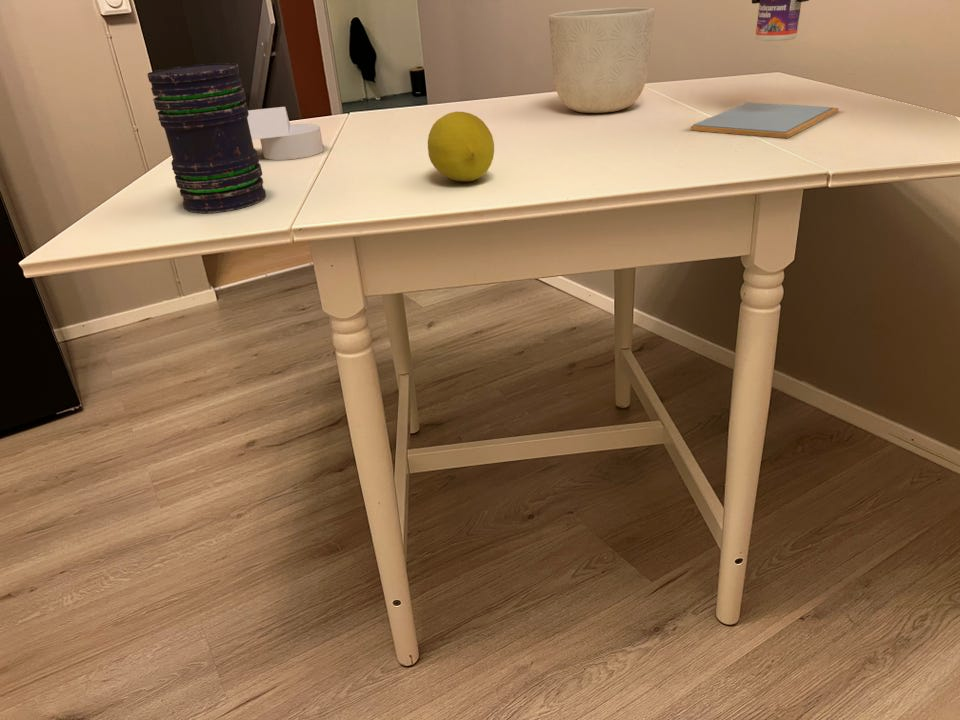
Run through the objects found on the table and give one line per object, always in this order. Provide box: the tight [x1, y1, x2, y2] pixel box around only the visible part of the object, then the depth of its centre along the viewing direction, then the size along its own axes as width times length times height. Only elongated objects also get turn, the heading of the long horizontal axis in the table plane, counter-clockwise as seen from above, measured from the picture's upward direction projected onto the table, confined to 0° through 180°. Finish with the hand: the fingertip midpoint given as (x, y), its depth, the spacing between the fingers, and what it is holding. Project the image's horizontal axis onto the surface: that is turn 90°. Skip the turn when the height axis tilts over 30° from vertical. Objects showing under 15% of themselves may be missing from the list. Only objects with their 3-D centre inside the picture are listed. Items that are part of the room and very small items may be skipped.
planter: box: [548, 6, 655, 114], centre depth 119 cm, size 17×17×15 cm
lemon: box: [427, 111, 495, 182], centre depth 85 cm, size 11×8×8 cm
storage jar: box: [146, 62, 267, 214], centre depth 82 cm, size 10×10×15 cm
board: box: [690, 102, 839, 139], centre depth 105 cm, size 14×20×1 cm
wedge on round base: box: [247, 106, 325, 161], centre depth 106 cm, size 9×7×13 cm
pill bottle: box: [755, 0, 802, 42], centre depth 97 cm, size 5×5×10 cm
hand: (780, 0), depth 97 cm, fingers closed on pill bottle, 5 cm apart
